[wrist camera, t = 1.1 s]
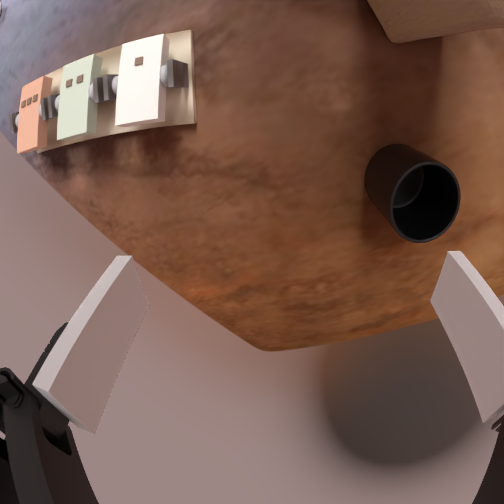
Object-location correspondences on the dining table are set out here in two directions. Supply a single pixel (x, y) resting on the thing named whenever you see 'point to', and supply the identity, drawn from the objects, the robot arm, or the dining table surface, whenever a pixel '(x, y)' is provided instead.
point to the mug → (413, 192)
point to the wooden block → (436, 17)
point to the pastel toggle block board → (177, 95)
